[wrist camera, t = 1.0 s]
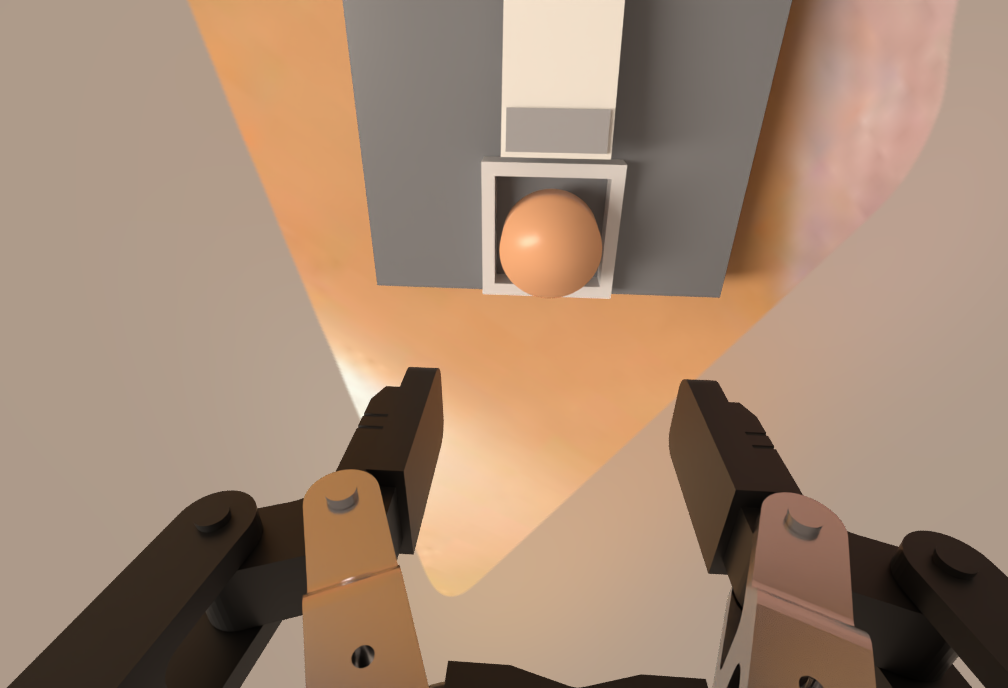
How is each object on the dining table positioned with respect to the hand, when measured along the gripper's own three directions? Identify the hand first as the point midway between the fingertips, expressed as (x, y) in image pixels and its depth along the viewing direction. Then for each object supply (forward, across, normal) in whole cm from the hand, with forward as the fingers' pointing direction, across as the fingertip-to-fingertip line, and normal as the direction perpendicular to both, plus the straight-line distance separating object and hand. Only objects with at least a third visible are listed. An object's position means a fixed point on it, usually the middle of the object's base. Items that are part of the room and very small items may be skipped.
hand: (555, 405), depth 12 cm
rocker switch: (+13, 0, -7) cm, 15 cm away
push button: (+13, 0, 0) cm, 13 cm away
